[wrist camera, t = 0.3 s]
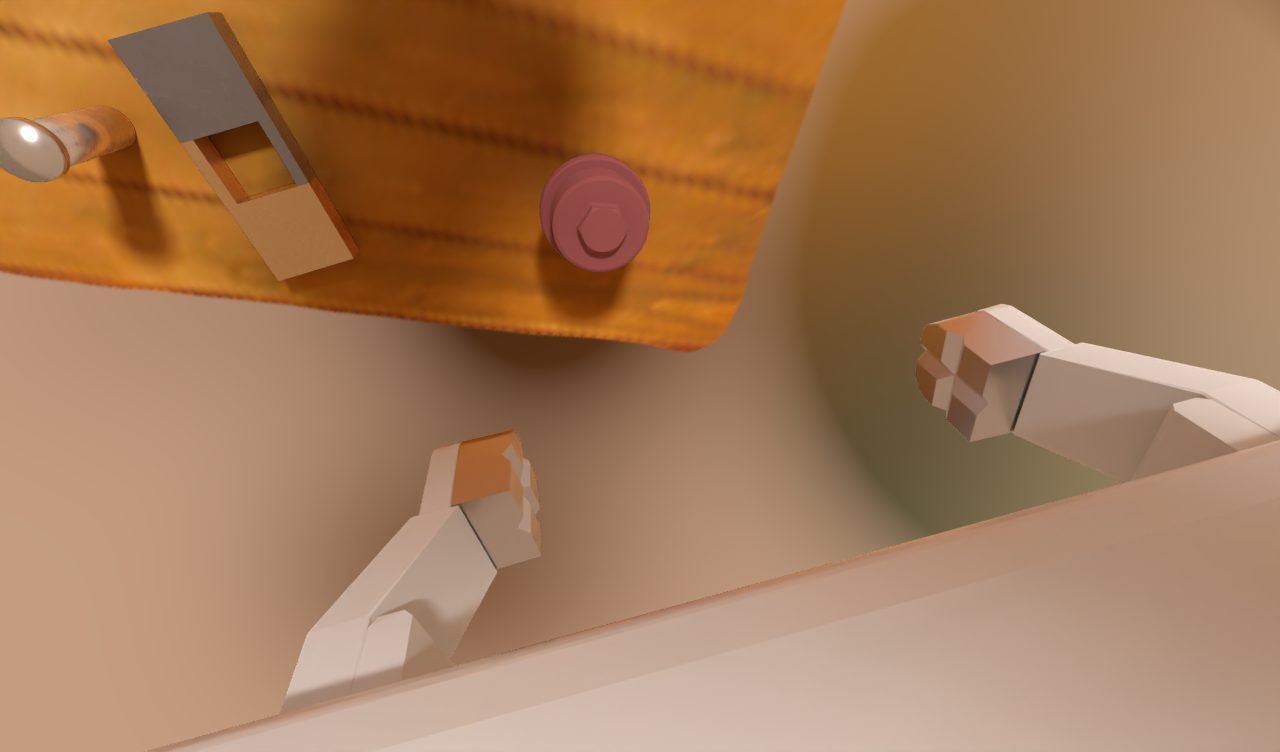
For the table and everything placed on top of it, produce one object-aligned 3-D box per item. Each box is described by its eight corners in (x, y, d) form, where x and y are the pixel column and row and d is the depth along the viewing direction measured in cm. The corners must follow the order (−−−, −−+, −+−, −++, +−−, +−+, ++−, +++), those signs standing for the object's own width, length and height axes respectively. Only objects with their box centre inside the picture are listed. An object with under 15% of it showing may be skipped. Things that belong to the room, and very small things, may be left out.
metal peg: (66, 108, 42) (-36, 128, 34) (115, 93, 42) (26, 111, 34) (106, 159, 44) (20, 189, 36) (153, 145, 45) (78, 172, 37)
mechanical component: (647, 213, 57) (564, 254, 57) (608, 120, 51) (517, 167, 52) (677, 255, 47) (577, 304, 47) (634, 145, 41) (520, 203, 42)
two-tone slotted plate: (126, 39, 41) (107, 40, 39) (221, 12, 41) (207, 12, 39) (286, 271, 52) (278, 281, 50) (359, 249, 53) (353, 258, 51)
